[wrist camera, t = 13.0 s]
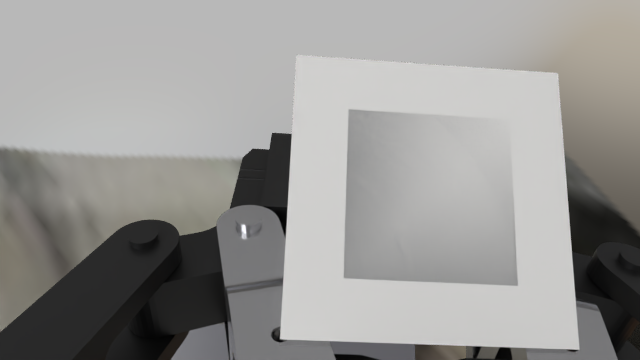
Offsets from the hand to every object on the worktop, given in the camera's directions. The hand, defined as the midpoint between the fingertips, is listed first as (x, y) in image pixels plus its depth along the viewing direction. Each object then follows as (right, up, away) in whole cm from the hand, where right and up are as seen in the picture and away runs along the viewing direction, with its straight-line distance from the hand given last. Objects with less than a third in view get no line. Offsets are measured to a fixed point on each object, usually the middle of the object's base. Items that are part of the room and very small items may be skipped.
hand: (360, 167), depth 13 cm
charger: (0, -3, +4) cm, 5 cm away
